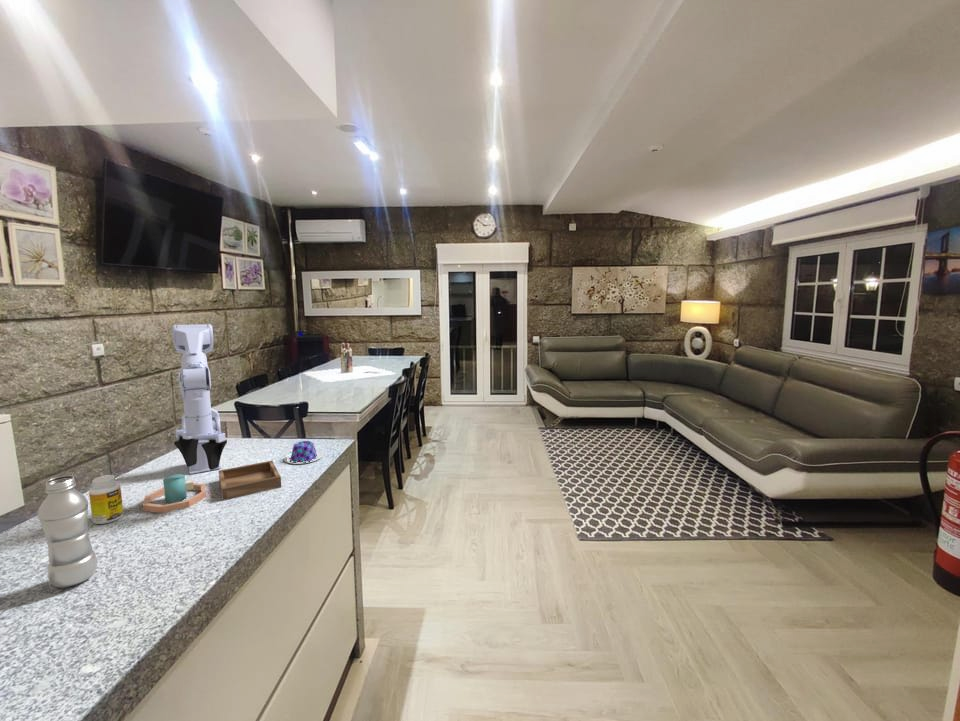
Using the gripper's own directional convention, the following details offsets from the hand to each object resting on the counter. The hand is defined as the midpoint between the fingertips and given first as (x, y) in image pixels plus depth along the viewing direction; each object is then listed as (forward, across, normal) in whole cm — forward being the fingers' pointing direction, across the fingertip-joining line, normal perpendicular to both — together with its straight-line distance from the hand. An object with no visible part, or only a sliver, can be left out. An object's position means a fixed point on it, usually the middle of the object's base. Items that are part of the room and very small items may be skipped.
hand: (202, 466), depth 108 cm
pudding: (+9, +4, +32) cm, 34 cm away
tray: (+9, +3, +11) cm, 15 cm away
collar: (+9, -8, -2) cm, 12 cm away
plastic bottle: (+10, +5, -31) cm, 33 cm away
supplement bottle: (+9, -13, -14) cm, 21 cm away
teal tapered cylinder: (+9, -8, -2) cm, 12 cm away
